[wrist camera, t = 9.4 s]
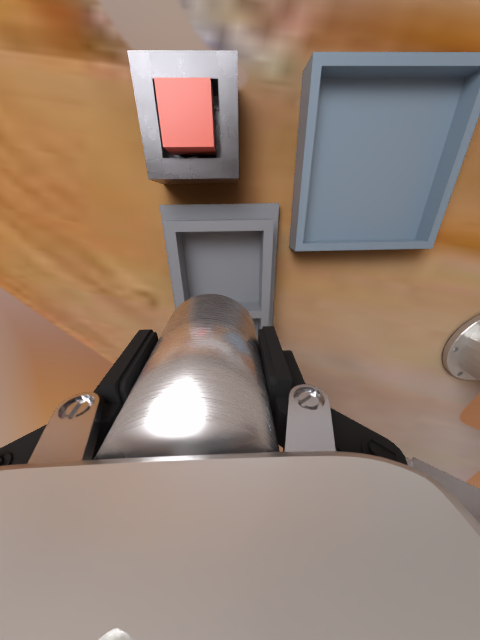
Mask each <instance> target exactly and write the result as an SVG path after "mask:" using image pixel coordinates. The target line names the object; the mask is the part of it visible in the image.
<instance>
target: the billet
mask: <svg viewBox="0 0 480 640" xmlns="http://www.w3.org/2000/svg"><path fill="white" fill-rule="evenodd" d="M263 452H280V451H279V446H278V441H277V436H276V431H275V426H274V421H273V416H272V411H271V406H270V401H269V396H268V391H267V386H266V381H265V376H264V371H263V366H262V361H261V356H260V351H259V346H258V341H257V336H256V331H255V326H254V322H253V319H252V317H251V316H250V314H249V312H248V311H247V310H246V309H245V308H244V307H243V306H242V305H241V304H240V303H238V302H237V301H235V300H234V299H231V298H229V297H227V296H223V295H218V294H202V295H198V296H195V297H192V298H190V299H188V300H186V301H185V302H183V303H182V304H181V305H180V306H178V307H177V309H176V310H175V311H174V313H173V315H172V316H171V318H170V320H169V322H168V324H167V326H166V327H165V329H164V331H163V333H162V335H161V337H160V338H159V340H158V342H157V344H156V346H155V348H154V350H153V351H152V353H151V355H150V357H149V359H148V361H147V362H146V364H145V366H144V368H143V370H142V372H141V374H140V375H139V377H138V379H137V381H136V383H135V385H134V386H133V388H132V390H131V392H130V394H129V396H128V398H127V399H126V401H125V403H124V405H123V407H122V409H121V410H120V412H119V414H118V416H117V418H116V420H115V422H114V423H113V425H112V427H111V429H110V431H109V433H108V435H107V436H106V438H105V440H104V442H103V444H102V446H101V447H100V449H99V451H98V453H97V455H96V457H95V459H94V460H101V459H121V458H142V457H165V456H188V455H211V454H237V453H263Z"/></svg>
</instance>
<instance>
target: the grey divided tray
mask: <svg viewBox="0 0 480 640" xmlns="http://www.w3.org/2000/svg"><path fill="white" fill-rule="evenodd" d="M160 211H161V218H162V224H163V231H164V237H165V244H166V250H167V257H168V264H169V270H170V277H171V283H172V290H173V296H174V303H175V309H177V307H178V306H180V305H181V304H182V303H183V302H185V301H186V300H188V299H190V298H192V297H195V296H198V295H202V294H218V295H223V296H227V297H229V298H231V299H234V300H235V301H237V302H238V303H240V304H241V305H242V306H243V307H244V308H245V309H246V310H247V311H248V312H249V314H250V316H251V317H252V319H253V322H254V326H255V331H256V336H257V341H258V330H259V329H262V327H263V326H272V322H273V304H274V287H275V269H276V251H277V234H278V216H279V203H262V204H193V205H160Z"/></svg>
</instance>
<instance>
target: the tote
mask: <svg viewBox="0 0 480 640" xmlns="http://www.w3.org/2000/svg"><path fill="white" fill-rule="evenodd" d="M479 114H480V52H313V54H312V56H311V57H310V59H309V61H308V63H307V65H306V67H305V69H304V71H303V77H302V90H301V102H300V115H299V127H298V140H297V152H296V165H295V177H294V190H293V203H292V215H291V228H290V240H289V247H290V248H291V249H293V250H294V251H334V250H384V249H432V248H433V245H434V242H435V239H436V237H437V234H438V231H439V228H440V225H441V222H442V220H443V217H444V214H445V211H446V208H447V205H448V203H449V200H450V197H451V194H452V191H453V188H454V185H455V183H456V180H457V177H458V174H459V171H460V168H461V166H462V163H463V160H464V157H465V154H466V151H467V149H468V146H469V143H470V140H471V137H472V134H473V131H474V129H475V126H476V123H477V120H478V117H479Z"/></svg>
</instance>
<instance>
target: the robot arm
mask: <svg viewBox="0 0 480 640" xmlns="http://www.w3.org/2000/svg"><path fill="white" fill-rule="evenodd" d="M157 342H158V336H157V333H156V332H153V330H139V331H138V333H137V334H136V335H135V337H134V338H133V339H132V341H131V342H130V343H129V345H128V346H127V347H126V349H125V350H124V351H123V353H122V354H121V355H120V357H119V358H118V359H117V361H116V362H115V363H114V365H113V366H112V368H111V369H110V370H109V372H108V373H107V374H106V376H105V377H104V378H103V380H102V381H101V383H100V384H99V385H98V386H97V388H96V389H95V390H94V392H84V393H79V394H76V395H74V396H72V397H69V398H68V399H66V400H64V401H63V402H62V403H61V404H60V405H58V406H57V408H56V409H55V410H54V412H53V414H52V416H51V418H50V420H49V422H48V424H47V425H45V426H43V427H41V428H39V429H37V430H35V431H33V432H31V433H29V434H27V435H25V436H23V437H22V438H20V439H17V440H15V441H14V442H12V443H10V444H8V445H6V446H4V447H2V448H0V640H480V489H479V488H476V487H474V486H472V485H470V484H468V483H466V482H464V481H462V480H460V479H458V478H456V477H454V476H452V475H449V474H447V473H445V472H443V471H441V470H439V469H437V468H435V467H433V466H431V465H429V464H427V463H425V462H422V461H420V460H418V459H416V458H414V457H413V459H412V460H410V459H408V458H406V457H405V456H404V454H403V453H402V452H401V450H400V449H399V448H398V447H397V446H396V445H395V444H394V443H392V442H391V441H389V440H388V439H386V438H385V437H383V436H381V435H379V434H377V433H376V432H374V431H372V430H370V429H368V428H366V427H365V426H363V425H361V424H359V423H357V422H355V421H354V420H352V419H350V418H348V417H346V416H344V415H343V414H341V413H339V412H337V411H335V410H333V409H332V408H330V402H329V398H328V396H327V395H326V393H325V392H324V391H322V390H321V389H320V388H318V387H316V386H313V385H309V384H305V382H304V380H303V377H302V375H301V372H300V370H299V368H298V365H297V363H296V361H295V358H294V356H293V353H292V352H291V351H282V348H281V345H280V343H279V340H278V337H277V334H276V332H275V329H274V326H263V327H262V329H259V330H258V346H259V351H260V356H261V361H262V366H263V371H264V376H265V381H266V386H267V391H268V396H269V401H270V406H271V411H272V416H273V421H274V426H275V431H276V436H277V441H278V444H279V445H280V446H281V447H283V452H263V453H237V454H211V455H188V456H165V457H142V458H121V459H101V460H94V459H95V457H96V455H97V453H98V451H99V449H100V447H101V446H102V444H103V442H104V440H105V438H106V436H107V435H108V433H109V431H110V429H111V427H112V425H113V423H114V422H115V420H116V418H117V416H118V414H119V412H120V410H121V409H122V407H123V405H124V403H125V401H126V399H127V398H128V396H129V394H130V392H131V390H132V388H133V386H134V385H135V383H136V381H137V379H138V377H139V375H140V374H141V372H142V370H143V368H144V366H145V364H146V362H147V361H148V359H149V357H150V355H151V353H152V351H153V350H154V348H155V346H156V344H157ZM442 360H443V365H444V367H445V368H446V370H447V371H448V372H450V373H451V374H452V375H454V376H455V377H457V378H460V379H463V380H479V381H480V315H478V316H476V317H474V318H472V319H471V320H469V321H468V322H466V323H465V324H464V325H462V326H461V327H460V328H459V329H458V330H457V331H456V332H455V333H454V334H453V335H452V336H451V338H450V339H449V340H448V342H447V344H446V346H445V348H444V352H443V359H442Z"/></svg>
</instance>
